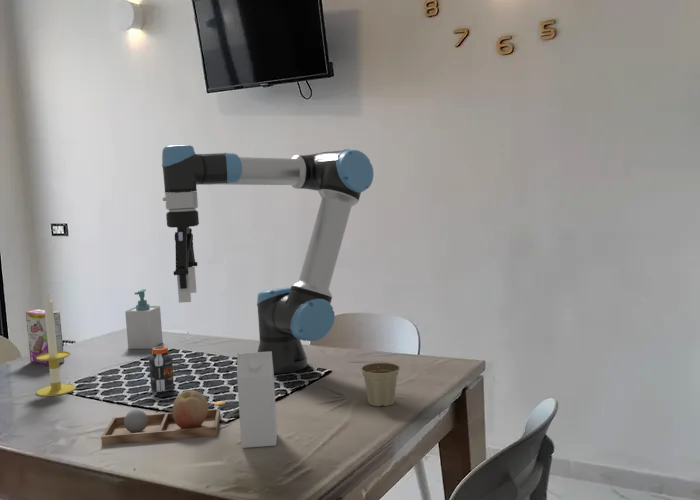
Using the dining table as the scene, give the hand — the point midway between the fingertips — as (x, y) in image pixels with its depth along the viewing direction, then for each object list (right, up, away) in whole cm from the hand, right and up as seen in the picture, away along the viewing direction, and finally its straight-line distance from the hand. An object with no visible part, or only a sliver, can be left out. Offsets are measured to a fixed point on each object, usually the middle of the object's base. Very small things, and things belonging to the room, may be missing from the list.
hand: (188, 297), depth 171 cm
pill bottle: (-11, -26, +17) cm, 32 cm away
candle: (-40, -27, +19) cm, 52 cm away
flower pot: (+47, -25, -3) cm, 54 cm away
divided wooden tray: (-1, -29, -16) cm, 33 cm away
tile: (+5, -27, 0) cm, 27 cm away
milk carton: (+21, -29, -24) cm, 43 cm away
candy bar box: (-56, -24, +50) cm, 79 cm away
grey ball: (-7, -28, -17) cm, 34 cm away
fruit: (+4, -28, -16) cm, 32 cm away
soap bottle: (-30, -21, +67) cm, 77 cm away
